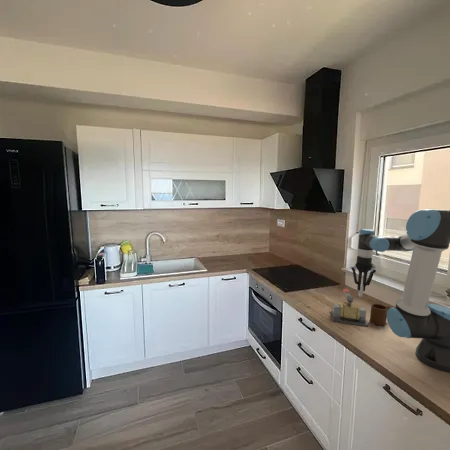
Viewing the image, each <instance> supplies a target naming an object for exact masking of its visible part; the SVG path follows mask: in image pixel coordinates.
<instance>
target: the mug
mask: <svg viewBox="0 0 450 450" xmlns="http://www.w3.org/2000/svg"><path fill="white" fill-rule="evenodd" d="M389 308H391V306H390V305H387V304H386V305H384V304H379V303H372V304H371V308H370V313H369V314H370V315H369V321H370V323H371V324H373V325H374V326H375V325H376V326H378V327H379V326H380V327H383V326H386V325H387V311H388V309H389Z"/></svg>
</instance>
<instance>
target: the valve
mask: <svg viewBox="0 0 450 450" xmlns="http://www.w3.org/2000/svg"><path fill="white" fill-rule="evenodd" d="M332 306H333V307H332V310H330V314H331V318H332V321H333V322H334V323H342V324H347V325H352V326H353V325H354V326H361V327H365V328H366V327H369V324H368V322H367V318H366V316H367V310H366V309H365V307H362V306H361V307H360V306H359V305H358V304H356V303H355V302H349V301H342V302H339V303H333V305H332Z"/></svg>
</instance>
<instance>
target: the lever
mask: <svg viewBox="0 0 450 450" xmlns="http://www.w3.org/2000/svg"><path fill="white" fill-rule="evenodd" d="M342 291H343V293H344V295H345V296H346V302H348V301H349V302H352V303H355V302H354V300H355V298H354V296H352V295H351V293H350V292H351V291H350V290H349V289H348V288H343V289H342Z"/></svg>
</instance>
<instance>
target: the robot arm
mask: <svg viewBox="0 0 450 450" xmlns="http://www.w3.org/2000/svg"><path fill="white" fill-rule="evenodd" d="M405 231H406V234H404V235H401V236H400V235H399V236H388V235H376V232H375V230H374V229H369V228H362V229H359V235H358V245H357V251H356V252H357V253H356V254H357V255H356V261H355V262H356V263H355V264H354V265H353V266H350V269H351V271H352V275H353V276H352V277H353V281H354V282H353V283H354V284H356V285H357V291H358V296H359V298H363V294H364V292H365V291H366V287H367V286H370V285H371V282H372V280H373V277H374V275H375V273H376V272H377V270H376V269H375V268H374V267H373V266H372V261H373V258H372V257H373V254H374V253H373V252H374V251H375V252H379V253H383V252H386V251H389V252H390V251H391V252H393V251H394V252H411V257H410V262H409V266H408V271H407V274H406V279H405V283H404V288H403V291H402V292H403V293H402V295H401V298H400V299H399V298H398V299H397V300H396V303H395V306H393V307H390V308H389V309H388V311H387V319H386V322H387V323H388V326H389V328H390V330H391V332H392V333H393V334H394V335H396V336H397V337H399V338H405V339H420V341H419V343H418V345H417V346H416V347H415V348H416V349H415V356H416V357H417V359H419V360H420V361H421V362H423V363H424V364H425V365H428V366H430V367H431V368H434V369H436V370H439V371H443V372H447V373H450V308H448V307H447V306H443V305H440V304H435V303H429V302H430V297H431V294H432V291H433V287H434V282H435V280H436V275H437V272H438V267H439V264H440V260H441V257H442V253H443V252H444V251H446V250H448V249H449V247H450V209H435V208H428V209H425V208H424V209H418V210H416V211H415V212H413V213H412V214H411V215H410V216H409V218H408V219H407V220H406V224H405ZM356 270H358V277H357V273H356ZM369 271H370V272H369ZM368 272H369V273H368ZM368 274H369V275H368Z"/></svg>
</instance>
